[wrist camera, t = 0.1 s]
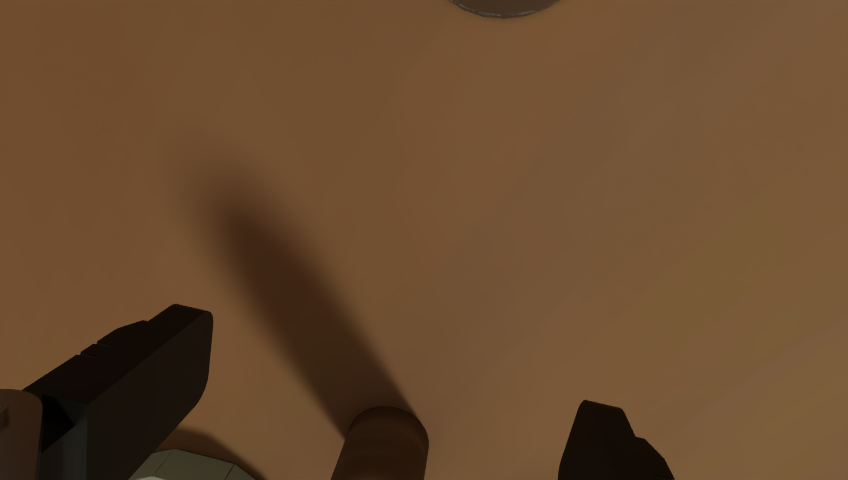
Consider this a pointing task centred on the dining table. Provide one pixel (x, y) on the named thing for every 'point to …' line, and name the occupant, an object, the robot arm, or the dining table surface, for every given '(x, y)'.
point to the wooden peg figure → (383, 447)
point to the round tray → (187, 468)
